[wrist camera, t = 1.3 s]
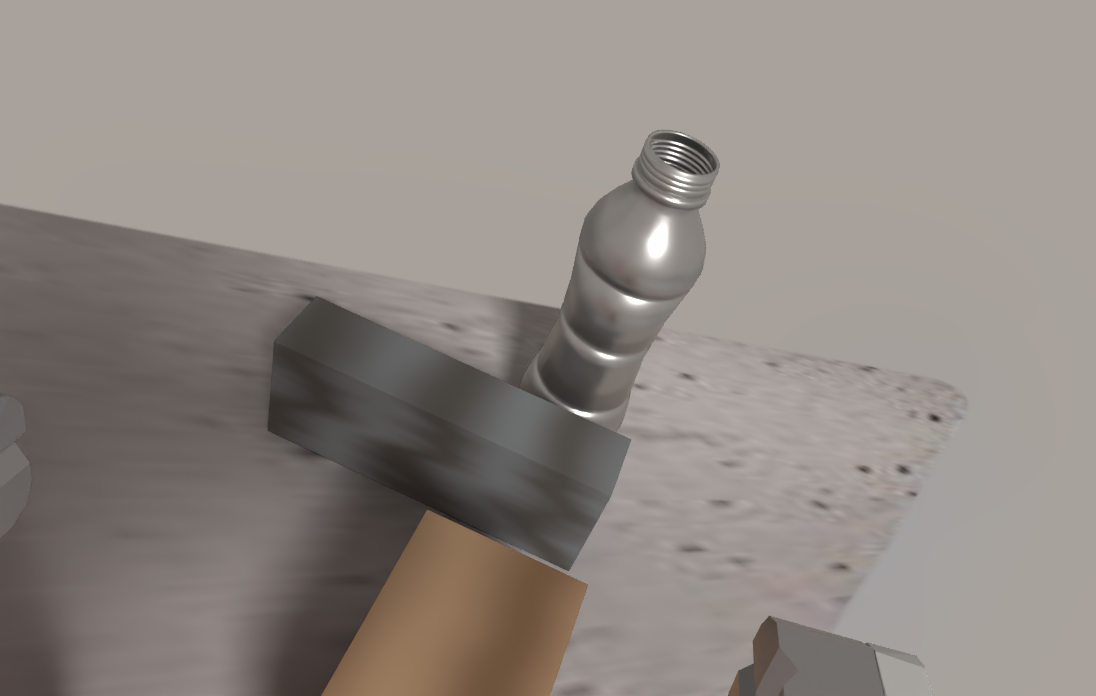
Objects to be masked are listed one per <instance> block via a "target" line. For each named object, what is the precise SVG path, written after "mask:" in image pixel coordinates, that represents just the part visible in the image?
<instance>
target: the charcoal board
mask: <svg viewBox="0 0 1096 696" xmlns="http://www.w3.org/2000/svg"><path fill="white" fill-rule="evenodd" d="M268 431H270V432H272V433H274V434H276V435H278V436H281V437H283V438H285V439H287V440H289V441H291V442H293V443H296V444H298V445H300V446H302V447H304V448H306V449H308V450H311V451H313V452H315V453H317V454H319V455H321V456H323V457H326V458H328V459H330V460H332V461H334V462H336V463H338V464H341V465H343V466H345V467H347V468H349V469H351V470H353V471H356V472H358V473H360V474H362V475H364V476H366V477H368V478H371V479H373V480H375V481H377V482H379V483H381V484H383V485H386V486H388V487H390V488H392V489H394V490H396V491H398V492H401V493H403V494H405V495H407V496H409V497H411V498H413V499H416V500H418V501H420V502H422V503H424V504H426V505H428V506H430V507H433V508H435V509H437V510H439V511H441V512H443V513H445V514H448V515H450V516H452V517H454V518H456V519H458V520H460V521H463V522H465V523H467V524H469V525H471V526H473V527H475V528H478V529H480V530H482V531H484V532H486V533H488V534H490V535H493V536H495V537H497V538H499V539H501V540H503V541H505V542H508V543H510V544H512V545H514V546H516V547H518V548H520V549H523V550H525V551H527V552H529V553H531V554H533V555H535V556H538V557H540V558H542V559H544V560H546V561H548V562H550V563H553V564H555V565H557V566H559V567H561V568H563V569H565V570H568V571H569V570H570V568H571V566H572V565H573V563H574V561H575V559H576V558H577V556H578V554H579V552H580V551H581V549H582V547H583V545H584V543H585V542H586V540H587V538H588V536H589V535H590V533H591V531H592V529H593V527H594V526H595V524H596V522H597V520H598V519H599V517H600V515H601V513H602V511H603V510H604V508H605V506H606V504H607V503H608V501H609V499H610V497H611V495H612V492H613V489H614V487H615V484H616V481H617V478H618V475H619V473H620V470H621V467H622V464H623V461H624V458H625V456H626V453H627V450H628V447H629V444H630V442H631V439H629V438H627V437H625V436H622V435H620V434H618V433H616V432H614V431H611V430H609V429H607V428H605V427H603V426H600V425H598V424H596V423H594V422H592V421H590V420H587V419H585V418H583V417H581V416H579V415H576V414H574V413H572V412H570V411H568V410H565V409H563V408H561V407H559V406H557V405H554V404H552V403H550V402H548V401H546V400H543V399H541V398H539V397H537V396H535V395H532V394H530V393H528V392H526V391H524V390H521V389H519V388H517V387H515V386H513V385H510V384H508V383H506V382H504V381H502V380H499V379H497V378H495V377H493V376H491V375H489V374H486V373H484V372H482V371H480V370H478V369H475V368H473V367H471V366H469V365H467V364H464V363H462V362H460V361H458V360H456V359H453V358H451V357H449V356H447V355H445V354H442V353H440V352H438V351H436V350H434V349H431V348H429V347H427V346H425V345H423V344H420V343H418V342H416V341H414V340H412V339H409V338H407V337H405V336H403V335H401V334H399V333H396V332H394V331H392V330H390V329H388V328H385V327H383V326H381V325H379V324H377V323H374V322H372V321H370V320H368V319H366V318H363V317H361V316H359V315H357V314H355V313H352V312H350V311H348V310H346V309H344V308H341V307H339V306H337V305H335V304H333V303H330V302H328V301H326V300H324V299H322V298H319V297H317V296H316V297H315V298H314V300H313V301H312V302H311V303H310V304H309V305H308V306H307V307H306V308H305V309H304V310H303V311H302V312H301V313H300V314H299V316H298V317H297V318H296V319H295V320H294V321H293V322H292V323H291V324H290V325H289V326H288V327H287V328H286V329H285V330H284V332H283V333H282V334H281V335H280V336H279V337H278V338H277V339H276V340H275V341H274V351H273V365H272V379H271V393H270V407H269V421H268Z"/></svg>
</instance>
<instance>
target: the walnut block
mask: <svg viewBox="0 0 1096 696" xmlns="http://www.w3.org/2000/svg"><path fill="white" fill-rule="evenodd" d="M587 587H588V584H586V583H583V582H581V581H579V580H577V579H575V578H573V577H571V576H568V575H566V574H564V573H562V572H560V571H558V570H556V569H553V568H551V567H549V566H547V565H545V564H543V563H541V562H538V561H536V560H534V559H532V558H530V557H528V556H526V555H523V554H521V553H519V552H517V551H515V550H513V549H511V548H509V547H506V546H504V545H502V544H500V543H498V542H496V541H494V540H491V539H489V538H487V537H485V536H483V535H481V534H479V533H476V532H474V531H472V530H470V529H468V528H466V527H464V526H461V525H459V524H457V523H455V522H453V521H451V520H449V519H447V518H444V517H442V516H440V515H438V514H436V513H434V512H432V511H429V510H427V511H426V512H425V514H424V516H423V518H422V520H421V521H420V523H419V525H418V527H417V528H416V530H415V532H414V534H413V535H412V537H411V539H410V541H409V542H408V544H407V546H406V548H405V549H404V551H403V553H402V555H401V556H400V558H399V560H398V562H397V563H396V565H395V567H394V569H393V570H392V572H391V574H390V576H389V578H388V579H387V581H386V583H385V585H384V586H383V588H382V590H381V592H380V593H379V595H378V597H377V599H376V600H375V602H374V604H373V606H372V607H371V609H370V611H369V613H368V614H367V616H366V618H365V620H364V621H363V623H362V625H361V627H360V628H359V630H358V632H357V634H356V636H355V637H354V639H353V641H352V643H351V644H350V646H349V648H348V650H347V651H346V653H345V655H344V657H343V658H342V660H341V662H340V664H339V665H338V667H337V669H336V671H335V672H334V674H333V676H332V678H331V679H330V681H329V683H328V685H327V686H326V688H325V690H324V692H323V694H322V695H321V696H550V694H551V691H552V688H553V685H554V682H555V679H556V676H557V673H558V671H559V668H560V665H561V662H562V659H563V656H564V653H565V650H566V647H567V645H568V642H569V639H570V636H571V633H572V630H573V627H574V624H575V621H576V619H577V616H578V613H579V610H580V607H581V604H582V601H583V598H584V596H585V593H586V590H587Z"/></svg>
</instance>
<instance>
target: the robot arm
mask: <svg viewBox="0 0 1096 696" xmlns="http://www.w3.org/2000/svg"><path fill="white" fill-rule="evenodd" d="M26 430H27V428H26V421H25V415H24V409H23V404H22V403H20V402H18V401H17V400H15V399H14V398H12V397H11V396H9V395H6V394H2V393H0V538H1V537H2V536H3V535H4V534H5V533H6V532H8V531H9V530H10V529H11V528H12V527H13V525H14V524H15V522H16V520H17V519H18V517H19V515H20V514H21V512H22V510H23V509H24V507H25V505H26V504H27V502H28V497H29V493H30V488H31V483H32V477H31V465H30V462H29V461H28V459H27V458H26V456H25V455H24V454H23V452H22V451H21V450H20V448H19V447H18V445H17V444H16V443H15V442H16V441H17V440H18V439H19V438H20V437H21V436H22V435H23V434H24V432H25V431H26ZM753 656H754V664H752V665H749V666H747V667H745V668H743V669H741V670H739V671H738V673H737V675H736V678H735V680H734V682H733V684H732V687H731V689H730V691H729V694H728V696H933V693H932V690H931V687H930V684H929V680H928V677H927V673H926V671H925V667H924V665H923V663H922V662H921V661H920V660H919V658H918V657H917V656H915V655H911V654H907V653H904V652H900V651H896V650H893V649H889V648H885V647H881V646H878V645H874V644H871V643H865V644H864V643H863V642H861V641H857V640H853V639H850V638H846V637H843V636H839V635H836V634H832V633H829V632H825V631H822V630H818V629H814V628H811V627H807V626H804V625H800V624H797V623H793V622H790V621H786V620H783V619H779V618H775V617H772V616H769V617H768V618H767V619H766V620H765V621H764V622H763V623H762V624H761V626H760V628H759V630H758V632H757V634H756V636H755V638H754V640H753Z"/></svg>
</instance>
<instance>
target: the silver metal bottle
mask: <svg viewBox="0 0 1096 696" xmlns="http://www.w3.org/2000/svg"><path fill="white" fill-rule="evenodd" d="M719 166H720V163H719V160H718V158H717V156H716V155H715V154H714V152H713V151H712V150H711V149H710V148H709V147H707V146H706V145H705V144H703V143H702V142H700V141H699V140H697V139H695V138H693V137H691V136H689V135H686V134H684V133H681V132H677V131H671V130H658V131H655V132H652V133H651V134H650V135H649V136H648V138H647V139H646V141H645V144H644V146H643V149H642V152H641V154H640V156H639V157H638V158H637V159H636V161H635V164H634V166H633V168H632V178H633V180H631V181H629V182H627V183H625V184H623V185H621V186H619V187H617V188H616V189H614V190H612V191H611V192H609V193H608V194H606V195H605V196H603V197H602V198H601V199H600V200H598V202H597V203H596V204H595V205H594V206H593V208H592V209H591V210H590V211H589V213H588V214H587V216H586V217H585V220H584V223H583V226H582V230H581V233H580V237H579V243H578V248H577V253H576V257H575V262H574V267H573V271H572V276H571V280H570V283H569V286H568V289H567V292H566V295H565V299H564V302H563V304H562V307H561V310H560V313H559V316H558V318H557V320H556V322H555V324H554V326H553V328H552V330H551V331H550V333H549V335H548V337H547V339H546V341H545V343H544V345H543V347H542V348H541V349H540V350H539V352H538V353H537V354H536V355H535V357H534V358H533V360H532V362H531V363H530V365H529V367H528V368H527V370H526V372H525V373H524V375H523V377H522V381H521V385H520V389H521V390H524V391H526V392H528V393H530V394H532V395H535V396H537V397H539V398H541V399H543V400H546V401H548V402H550V403H552V404H554V405H557V406H559V407H561V408H563V409H565V410H568V411H570V412H572V413H574V414H576V415H579V416H581V417H583V418H585V419H587V420H590V421H592V422H594V423H596V424H598V425H600V426H603V427H605V428H607V429H609V430H611V431H614V432H617V430H618V429H619V428H620V426H621V424H622V422H623V419H624V416H625V413H626V410H627V407H628V403H629V398H630V392H631V389H632V386H633V384H634V381H635V378H636V376H637V373H638V371H639V368H640V366H641V363H642V361H643V358H644V356H645V355H646V353H647V351H648V350H649V348H650V346H651V344H652V342H653V341H654V340H655V338H656V337H657V335H658V333H659V332H660V330H661V328H662V327H663V325H664V323H665V322H666V320H667V319H668V318H669V317H670V315H671V314H672V313H673V311H674V310H675V309H676V307H677V306H678V305H679V304H680V302H681V301H682V300H683V298H684V297H685V296H686V295H687V293H688V292H689V290H690V289H691V288H692V287H693V285H694V284H695V282H696V281H697V279H698V278H699V276H700V275H701V272H702V269H703V266H704V259H705V253H706V242H705V236H704V230H703V226H702V221H701V218H700V215H699V211H698V209H699V208H701V207H703V206H704V205H705V204H706V202H707V199H708V198H709V195H710V191H711V186H712V184H713V182H714V180H715V178H716V176H717V174H718V170H719Z"/></svg>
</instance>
